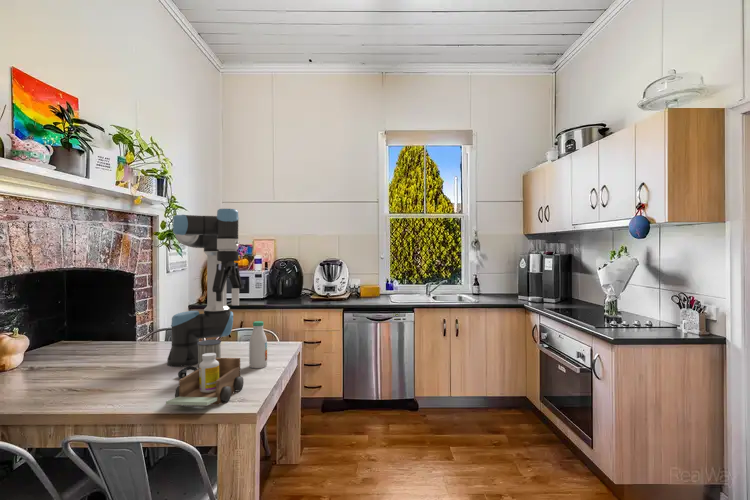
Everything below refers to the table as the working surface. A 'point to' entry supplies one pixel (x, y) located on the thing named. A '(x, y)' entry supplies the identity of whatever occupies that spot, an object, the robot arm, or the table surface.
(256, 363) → the milk bottle
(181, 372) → the milk frother
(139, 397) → the table surface
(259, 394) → the table surface
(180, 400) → the panel
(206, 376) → the supplement bottle
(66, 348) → the table surface
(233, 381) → the tray
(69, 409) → the table surface
